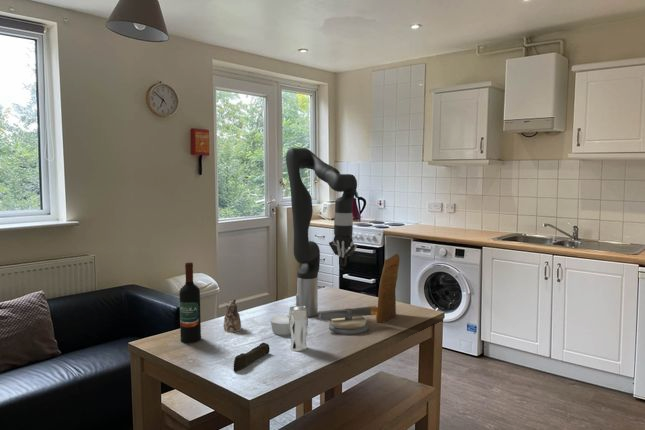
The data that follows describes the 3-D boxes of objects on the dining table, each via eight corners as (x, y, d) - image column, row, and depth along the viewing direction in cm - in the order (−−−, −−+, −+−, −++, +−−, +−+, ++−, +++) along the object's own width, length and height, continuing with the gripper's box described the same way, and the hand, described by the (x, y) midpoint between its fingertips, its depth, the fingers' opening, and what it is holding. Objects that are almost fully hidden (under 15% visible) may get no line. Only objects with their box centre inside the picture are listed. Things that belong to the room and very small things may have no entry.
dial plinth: (326, 333, 193) (326, 329, 193) (332, 321, 209) (332, 317, 209) (365, 335, 190) (365, 331, 190) (369, 323, 206) (369, 319, 206)
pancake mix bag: (403, 314, 219) (404, 253, 217) (384, 325, 204) (385, 260, 201) (390, 312, 223) (391, 252, 221) (370, 322, 207) (371, 258, 205)
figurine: (219, 330, 197) (219, 301, 196) (230, 325, 204) (230, 297, 202) (233, 333, 194) (233, 303, 193) (244, 328, 200) (244, 299, 199)
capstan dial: (314, 321, 202) (314, 307, 202) (369, 316, 210) (369, 302, 210) (325, 332, 189) (325, 316, 189) (383, 326, 197) (383, 311, 196)
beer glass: (305, 352, 173) (305, 311, 172) (286, 351, 174) (286, 310, 173) (309, 345, 180) (309, 306, 179) (291, 344, 181) (291, 305, 180)
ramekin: (303, 331, 196) (303, 319, 195) (283, 338, 188) (283, 325, 187) (285, 325, 204) (285, 313, 203) (264, 332, 195) (264, 319, 195)
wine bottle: (204, 337, 188) (203, 261, 186) (193, 344, 181) (191, 265, 179) (188, 335, 191) (186, 260, 188) (176, 341, 184) (174, 264, 181)
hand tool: (260, 352, 174) (260, 339, 174) (270, 354, 172) (269, 341, 172) (227, 371, 157) (226, 357, 157) (237, 373, 156) (236, 359, 155)
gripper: (362, 224, 194) (361, 266, 195) (335, 221, 201) (334, 262, 203) (352, 225, 188) (351, 269, 189) (324, 223, 195) (324, 265, 197)
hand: (342, 265), depth 196 cm, fingers closed
